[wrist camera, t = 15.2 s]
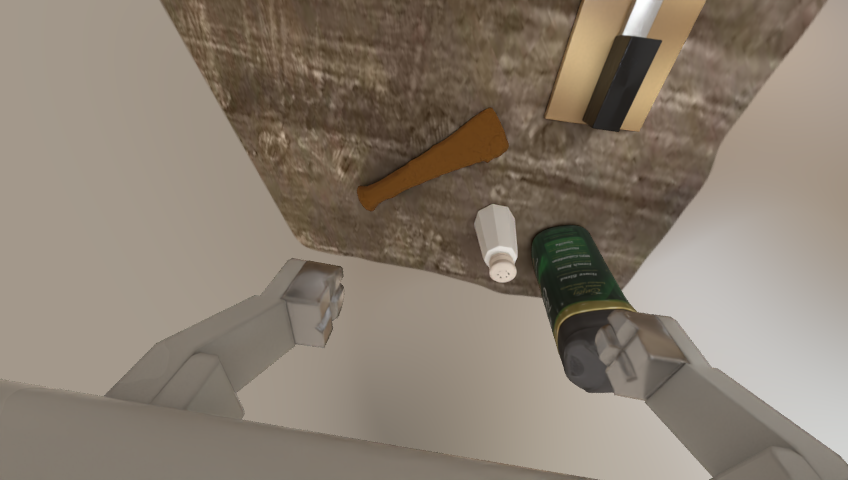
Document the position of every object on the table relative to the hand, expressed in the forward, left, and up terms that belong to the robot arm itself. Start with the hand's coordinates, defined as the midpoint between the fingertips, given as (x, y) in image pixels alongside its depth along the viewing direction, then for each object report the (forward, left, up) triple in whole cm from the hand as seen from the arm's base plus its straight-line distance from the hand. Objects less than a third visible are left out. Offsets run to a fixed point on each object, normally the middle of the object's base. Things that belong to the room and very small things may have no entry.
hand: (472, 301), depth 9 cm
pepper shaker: (+15, -1, -29) cm, 33 cm away
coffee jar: (+23, +6, -29) cm, 38 cm away
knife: (-2, +17, -28) cm, 33 cm away
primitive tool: (+4, -6, -29) cm, 30 cm away
